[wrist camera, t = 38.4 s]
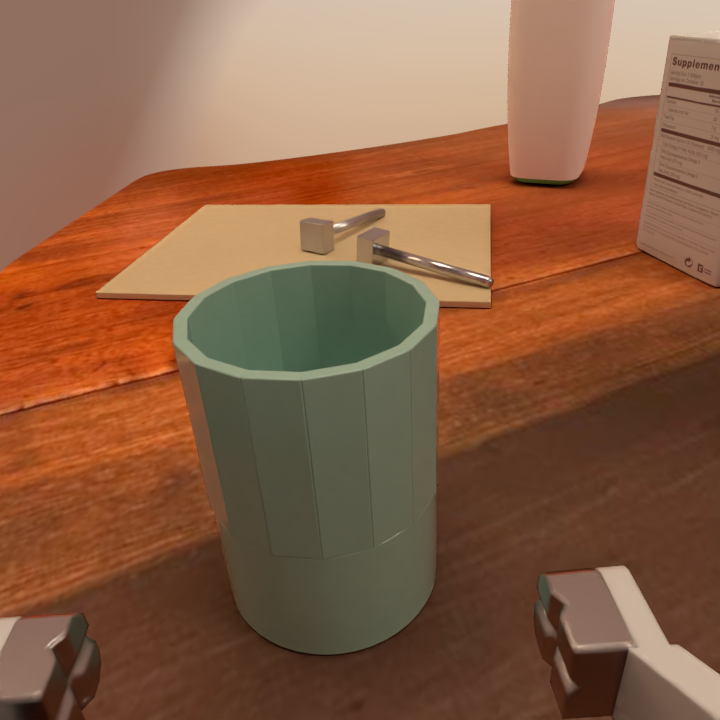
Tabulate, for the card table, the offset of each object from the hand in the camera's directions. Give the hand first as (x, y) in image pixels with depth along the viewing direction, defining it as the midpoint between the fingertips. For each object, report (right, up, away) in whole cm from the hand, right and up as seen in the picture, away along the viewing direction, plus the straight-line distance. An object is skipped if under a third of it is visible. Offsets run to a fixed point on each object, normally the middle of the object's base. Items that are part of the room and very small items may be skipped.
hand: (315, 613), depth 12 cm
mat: (-2, +12, +34) cm, 36 cm away
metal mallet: (+8, +9, +25) cm, 28 cm away
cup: (+18, +21, +46) cm, 53 cm away
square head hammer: (+3, +16, +38) cm, 41 cm away
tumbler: (0, -2, +9) cm, 9 cm away
